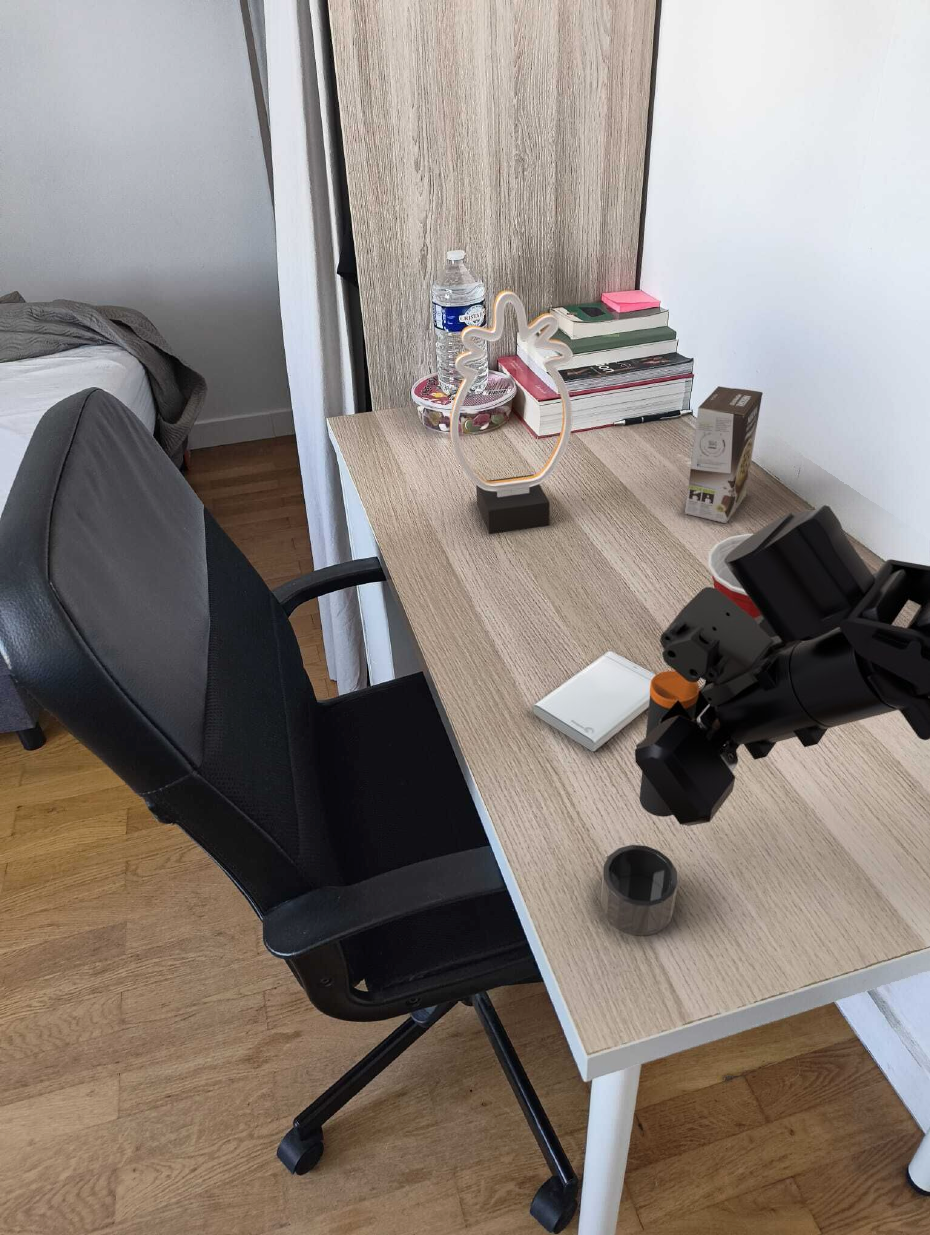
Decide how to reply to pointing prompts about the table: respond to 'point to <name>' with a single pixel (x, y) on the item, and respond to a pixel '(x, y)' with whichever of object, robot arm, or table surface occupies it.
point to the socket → (638, 890)
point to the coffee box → (722, 453)
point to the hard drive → (598, 700)
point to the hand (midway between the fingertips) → (652, 736)
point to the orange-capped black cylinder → (662, 698)
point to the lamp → (523, 496)
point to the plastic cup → (729, 574)
